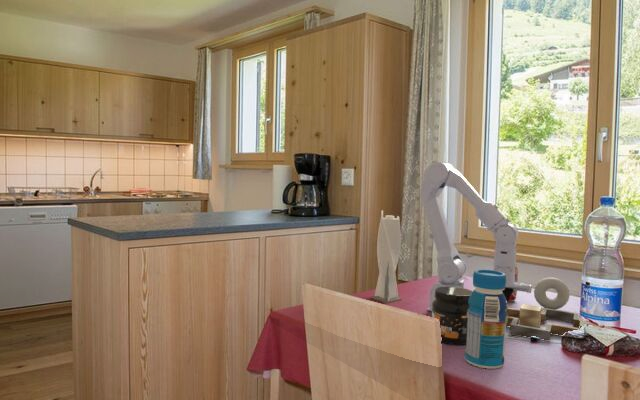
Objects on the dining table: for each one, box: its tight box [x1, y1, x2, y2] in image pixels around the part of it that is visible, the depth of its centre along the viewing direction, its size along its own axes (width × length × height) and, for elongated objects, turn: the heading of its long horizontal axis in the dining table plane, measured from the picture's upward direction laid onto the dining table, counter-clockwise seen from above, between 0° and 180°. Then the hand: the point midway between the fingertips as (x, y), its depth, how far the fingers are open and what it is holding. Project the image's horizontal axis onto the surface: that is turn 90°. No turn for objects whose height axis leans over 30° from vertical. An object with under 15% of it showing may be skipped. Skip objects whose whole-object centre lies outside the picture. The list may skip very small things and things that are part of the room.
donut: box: [533, 276, 570, 310], centre depth 154 cm, size 10×4×10 cm, turn 72°
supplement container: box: [431, 287, 474, 346], centre depth 124 cm, size 10×10×12 cm
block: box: [518, 303, 543, 328], centre depth 138 cm, size 5×5×5 cm
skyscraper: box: [370, 210, 403, 304], centre depth 160 cm, size 8×8×28 cm
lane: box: [506, 307, 586, 341], centre depth 137 cm, size 22×23×4 cm
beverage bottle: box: [464, 269, 509, 370], centre depth 109 cm, size 8×8×20 cm
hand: (501, 314), depth 141 cm, fingers closed
